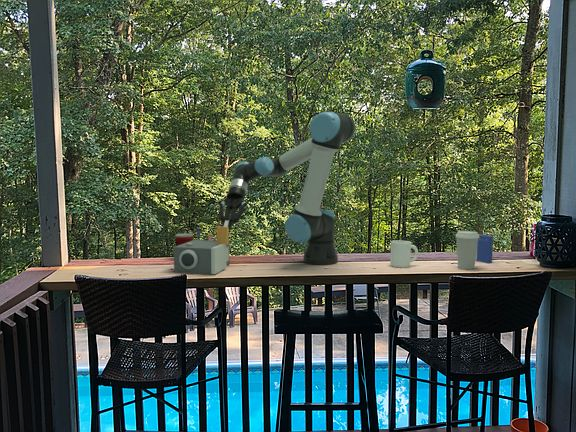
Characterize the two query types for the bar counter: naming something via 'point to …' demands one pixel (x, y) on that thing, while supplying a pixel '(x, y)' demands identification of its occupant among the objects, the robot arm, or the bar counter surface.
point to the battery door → (219, 250)
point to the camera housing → (195, 256)
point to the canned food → (183, 238)
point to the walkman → (484, 249)
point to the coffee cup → (466, 249)
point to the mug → (402, 253)
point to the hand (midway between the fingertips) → (224, 234)
